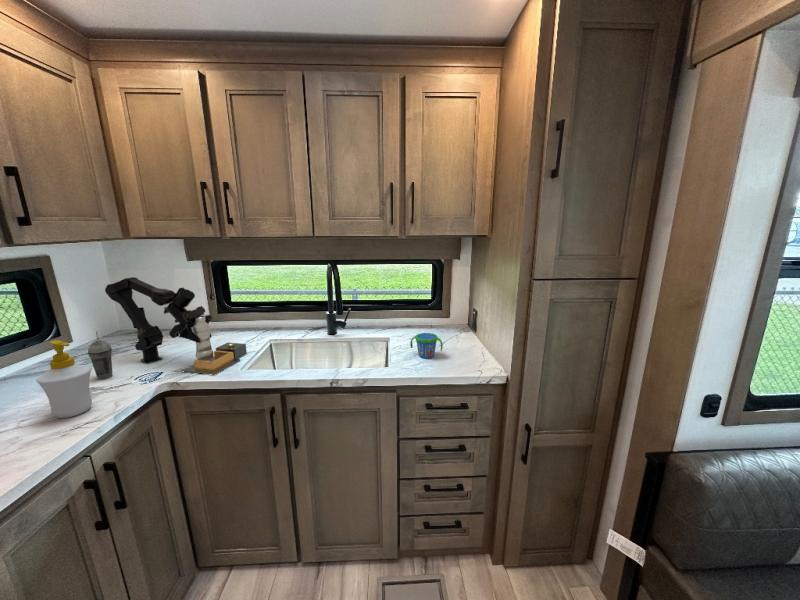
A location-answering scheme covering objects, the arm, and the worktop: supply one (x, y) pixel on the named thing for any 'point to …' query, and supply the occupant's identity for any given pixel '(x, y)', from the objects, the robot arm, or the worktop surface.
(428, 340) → the snack cup
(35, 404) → the worktop surface
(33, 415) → the worktop surface
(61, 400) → the soap bottle
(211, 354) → the plastic bottle
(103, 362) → the beverage cup
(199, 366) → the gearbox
